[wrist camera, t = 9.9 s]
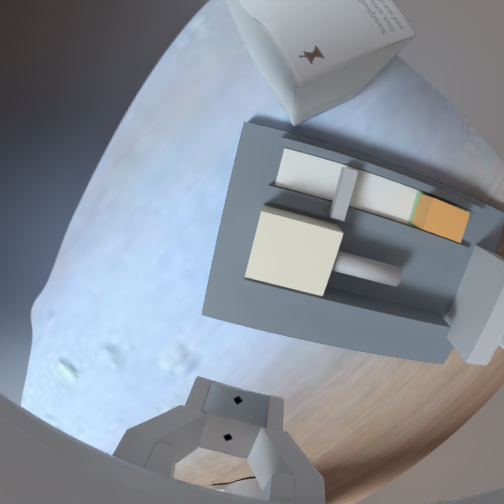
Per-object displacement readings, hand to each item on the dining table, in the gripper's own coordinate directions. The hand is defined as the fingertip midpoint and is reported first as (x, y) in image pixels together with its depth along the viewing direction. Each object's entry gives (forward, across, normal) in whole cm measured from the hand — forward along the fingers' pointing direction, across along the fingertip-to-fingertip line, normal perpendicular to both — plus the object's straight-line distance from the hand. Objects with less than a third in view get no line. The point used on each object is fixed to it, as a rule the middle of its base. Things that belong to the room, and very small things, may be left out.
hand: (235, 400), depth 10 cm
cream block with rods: (+17, -5, -4) cm, 18 cm away
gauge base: (+18, -9, -2) cm, 20 cm away
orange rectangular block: (+17, -13, -8) cm, 23 cm away
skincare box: (+18, +1, -16) cm, 24 cm away
